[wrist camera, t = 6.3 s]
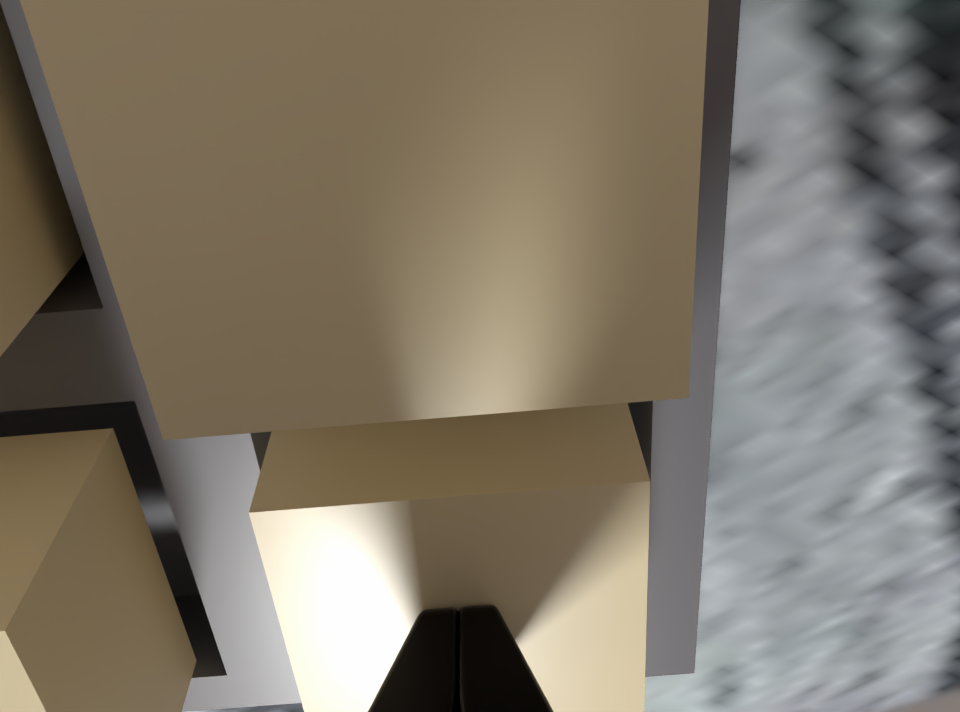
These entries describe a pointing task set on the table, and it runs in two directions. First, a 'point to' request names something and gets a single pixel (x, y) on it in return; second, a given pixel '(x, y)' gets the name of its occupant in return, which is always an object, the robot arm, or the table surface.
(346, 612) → the button
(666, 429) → the button board
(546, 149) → the button
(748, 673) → the table surface
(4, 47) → the button
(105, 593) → the button
